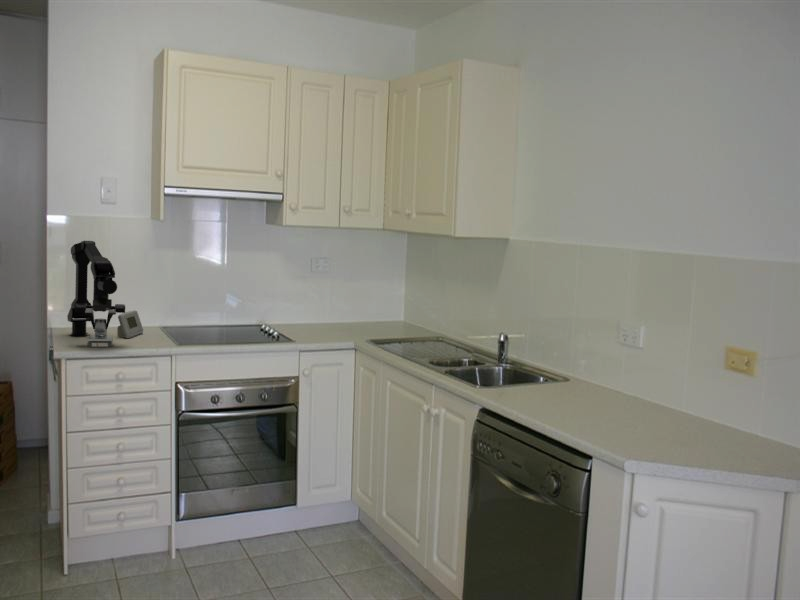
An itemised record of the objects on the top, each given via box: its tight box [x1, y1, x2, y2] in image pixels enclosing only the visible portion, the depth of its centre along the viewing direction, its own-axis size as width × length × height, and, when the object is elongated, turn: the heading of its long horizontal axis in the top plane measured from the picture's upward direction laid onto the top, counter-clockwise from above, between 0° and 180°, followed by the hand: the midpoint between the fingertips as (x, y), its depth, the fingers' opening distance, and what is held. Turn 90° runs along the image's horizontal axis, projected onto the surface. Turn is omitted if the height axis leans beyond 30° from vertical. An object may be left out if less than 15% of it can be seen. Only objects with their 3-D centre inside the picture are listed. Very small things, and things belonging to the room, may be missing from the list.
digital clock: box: [116, 310, 144, 339], centre depth 328 cm, size 16×9×11 cm, turn 164°
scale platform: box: [87, 334, 114, 342], centre depth 304 cm, size 10×9×1 cm
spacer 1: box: [93, 318, 107, 333], centre depth 301 cm, size 4×4×5 cm
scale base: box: [87, 338, 114, 348], centre depth 304 cm, size 10×9×2 cm
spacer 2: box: [94, 328, 108, 336], centre depth 307 cm, size 4×4×5 cm
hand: (100, 328), depth 301 cm, fingers closed on spacer 1, 4 cm apart
